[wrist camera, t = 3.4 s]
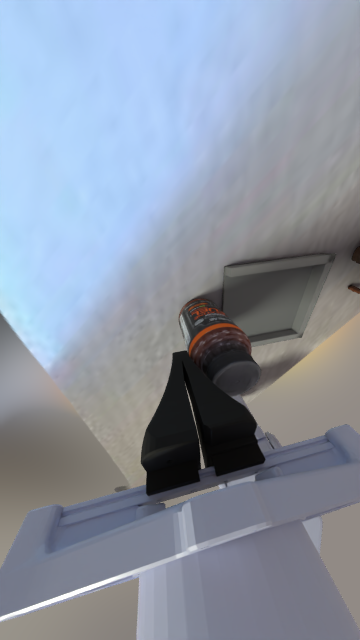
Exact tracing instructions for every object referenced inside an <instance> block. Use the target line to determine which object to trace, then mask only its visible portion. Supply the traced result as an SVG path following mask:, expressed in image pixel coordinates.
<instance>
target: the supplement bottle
mask: <svg viewBox="0 0 360 640" xmlns="http://www.w3.org/2000/svg"><path fill="white" fill-rule="evenodd" d="M179 324H180V328H181V331H182V334H183V337H184V341H185V344H186V347H187V351H188V354H189V356H190V357H191V359H192V360H193V362H194V363H195V364H196V365H197V367H198V368H199V369H200V370H201V371H202V372H203V373H204V374H205V375H206V376H207V377H208V378H209V379H210V380H211V381H212V382H213V383H214V384H215V385H216V386H217V387H219V388H220V389H221V390H223V391H224V392H225V393H226V394H228V395H229V396H230V397H233V396H237V395H240V394H243V393H245V392H246V391H248V390H249V389H251V388H252V387H253V386H254V385H255V384H256V383H257V382H258V380H259V378H260V374H261V370H260V367H259V366H258V364H257V363H256V362H255V361H254V360H253V358H252V356H251V342H250V340H249V338H248V337H247V335H246V334H245V333H244V332H243V331H242V330H241V329H240V328H239V327H238V326H237V325H236V324H235V323H234V322H233V321H232V320H231V319H230V318H229V317H228V316H227V315H225V314H224V313H223V312H222V311H221V310H220V309H219V308H218V307H217V306H216V305H215V304H214V303H213V302H211V301H209V300H207V299H195V300H192V301H190V302H188V303H187V304H186V305H185V306H183V308H182V310H181V312H180V314H179Z"/></svg>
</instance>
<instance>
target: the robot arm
mask: <svg viewBox="0 0 360 640" xmlns="http://www.w3.org/2000/svg"><path fill="white" fill-rule="evenodd" d="M185 384H186V385H185ZM186 387H187V390H188V393H189V396H190V400H191V403H192V407H193V412H194V416H195V421H196V425H195V421H194V418H193V414H192V410H191V406H190V402H189V398H188V394H187V390H186ZM196 426H197V429H196ZM197 430H198V434H197ZM198 435H199V438H198ZM265 435H266V436H265ZM265 435H264V433H263V431H262V429H261V428H260V427H259V426H258V424H257V422H256V421H255V419H254V417H253V416H252V414H251V412H250V410H249V409H248V407H247V405H246V403H245V402H244V400H243V398H242V397H241V395H237V396H233V397H230V396H229V395H228V394H226V393H225V392H224V391H223V390H221V389H220V388H219V387H217V386H216V385H215V384H214V383H213V382H212V381H211V380H210V379H209V378H208V377H207V376H206V375H205V374H204V373H203V372H202V371H201V370H200V369H199V368H198V367H197V365H196V364H195V363H194V362H193V360H192V359H191V357H190V356H189V354H188V352H187V351H180V352H175V353H173V360H172V367H171V372H170V376H169V380H168V383H167V386H166V389H165V392H164V394H163V397H162V399H161V402H160V404H159V406H158V408H157V410H156V412H155V414H154V416H153V418H152V420H151V422H150V423H149V425H148V427H147V429H146V432H145V436H144V440H143V445H142V452H141V464H142V466H143V467H144V469H145V470H146V472H147V478H146V485H143V486H139V487H136V488H132V489H128V490H125V491H121V492H118V493H114V494H111V495H107V496H103V497H99V498H96V499H92V500H89V501H85V502H81V503H78V504H74V505H71V506H67V507H63V506H62V505H59V504H53V505H49V506H45V507H42V508H38V509H34V510H30V511H29V512H28V513H27V515H26V517H25V519H24V521H23V523H22V525H21V527H20V529H19V531H18V534H17V536H16V538H15V540H14V542H13V544H12V546H11V548H10V550H9V552H8V554H7V556H6V558H5V560H4V563H3V564H2V567H1V569H0V622H3V621H6V620H9V619H13V618H16V617H20V616H23V615H26V614H28V613H32V612H35V611H38V610H41V609H44V608H47V607H50V606H53V605H56V604H59V603H62V602H65V601H67V600H71V599H74V598H77V597H80V596H83V595H86V594H89V593H92V592H95V591H98V590H101V589H104V588H108V587H111V586H113V585H117V584H120V583H123V582H126V581H129V580H132V579H135V578H138V577H139V598H138V617H137V638H136V640H360V630H359V628H358V626H357V624H356V622H355V620H354V619H353V617H352V615H351V613H350V611H349V609H348V607H347V605H346V604H345V602H344V600H343V598H342V596H341V594H340V592H339V591H338V589H337V587H336V585H335V583H334V581H333V579H332V577H331V576H330V574H329V572H328V570H327V568H326V566H325V564H324V562H323V561H322V559H321V557H320V546H321V537H322V528H323V522H322V518H321V515H324V514H327V513H330V512H332V511H336V510H338V509H341V508H344V507H347V506H350V505H353V504H356V503H359V502H360V435H359V434H358V433H357V432H356V431H355V430H354V429H353V428H352V427H350V426H349V425H347V424H345V425H342V426H338V427H334V428H332V429H330V430H328V431H327V432H326V433H325V435H324V436H320V437H316V438H313V439H309V440H305V441H302V442H298V443H295V444H291V445H288V446H284V447H282V446H281V444H280V443H279V441H278V440H277V439H276V437H275V436H274V435H273V434H271V433H269V432H266V433H265ZM266 437H267V438H268V440H269V441H268V440H267V438H266ZM199 440H200V444H201V449H202V454H203V459H204V463H205V468H204V469H201V463H200V447H199ZM270 444H271V445H270ZM217 485H219V488H220V489H219V490H215V491H212V492H209V493H205V494H202V495H199V496H196V497H193V498H191V499H189V500H187V501H184V502H182V503H179V504H177V505H174V506H171V507H169V508H165V504H164V503H160V502H163V501H166V500H169V499H173V498H177V497H180V496H183V495H187V494H190V493H194V492H197V491H201V490H204V489H207V488H211V487H214V486H217ZM156 503H158V504H156Z"/></svg>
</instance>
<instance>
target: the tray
mask: <svg viewBox="0 0 360 640" xmlns="http://www.w3.org/2000/svg"><path fill="white" fill-rule="evenodd" d="M335 256H336V254H314V255H307V256H299V257H292V258H284V259H277V260H270V261H262V262H255V263H247V264H240V265H232V266H225V267H224V282H223V300H222V312H223V313H224V314H225V315H227V316H228V317H229V318H230V319H231V320H232V321H233V322H234V323H235V324H236V325H237V326H238V327H239V328H240V329H241V330H242V331H243V332H244V333H245V334H246V335H247V337H248V338H249V340H250V342H251V347H255V346H260V345H265V344H270V343H275V342H281V341H286V340H291V339H296V338H301V337H302V335H303V333H304V331H305V328H306V326H307V323H308V321H309V319H310V316H311V314H312V311H313V309H314V307H315V304H316V302H317V299H318V297H319V295H320V292H321V290H322V288H323V285H324V283H325V280H326V278H327V276H328V273H329V271H330V268H331V266H332V264H333V261H334V259H335Z"/></svg>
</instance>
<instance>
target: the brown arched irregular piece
mask: <svg viewBox="0 0 360 640" xmlns="http://www.w3.org/2000/svg"><path fill="white" fill-rule="evenodd" d="M352 260H353V261H356V262H357V263H359V264H360V246H359V247H358V248H357V249H356V250H355V252H354V254H353V256H352ZM348 289H350V290H352V291H353V292H357V293H358V294H360V289H359V288H357V287H355V286H349V287H348Z"/></svg>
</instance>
